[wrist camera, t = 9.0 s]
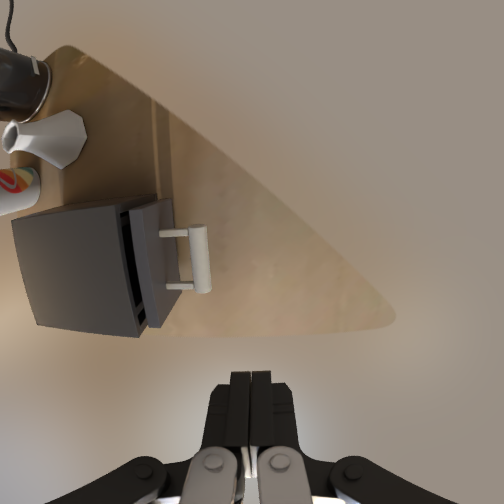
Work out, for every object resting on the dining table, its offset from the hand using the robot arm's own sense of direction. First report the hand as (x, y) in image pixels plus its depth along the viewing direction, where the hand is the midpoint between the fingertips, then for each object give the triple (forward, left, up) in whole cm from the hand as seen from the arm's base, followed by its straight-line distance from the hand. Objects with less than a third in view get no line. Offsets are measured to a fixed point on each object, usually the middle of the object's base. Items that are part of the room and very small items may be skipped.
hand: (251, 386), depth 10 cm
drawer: (-9, -8, -20) cm, 23 cm away
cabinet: (-13, -12, -21) cm, 27 cm away
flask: (-27, -6, -21) cm, 34 cm away
